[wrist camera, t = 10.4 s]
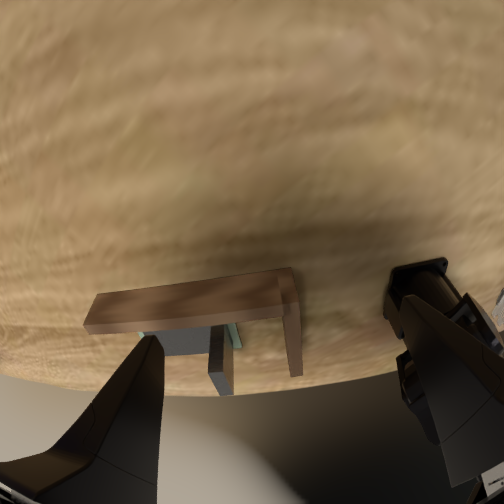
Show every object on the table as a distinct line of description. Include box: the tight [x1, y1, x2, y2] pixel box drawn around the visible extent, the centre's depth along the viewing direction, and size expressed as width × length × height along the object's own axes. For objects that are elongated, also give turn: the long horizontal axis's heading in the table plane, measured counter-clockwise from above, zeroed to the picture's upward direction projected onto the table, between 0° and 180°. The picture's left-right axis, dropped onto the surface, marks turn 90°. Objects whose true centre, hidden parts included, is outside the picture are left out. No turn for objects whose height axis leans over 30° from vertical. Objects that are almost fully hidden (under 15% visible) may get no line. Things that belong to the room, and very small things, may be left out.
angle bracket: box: [143, 324, 234, 396], centre depth 25 cm, size 8×4×6 cm, turn 99°
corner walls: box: [83, 267, 303, 377], centre depth 25 cm, size 18×10×4 cm, turn 99°
